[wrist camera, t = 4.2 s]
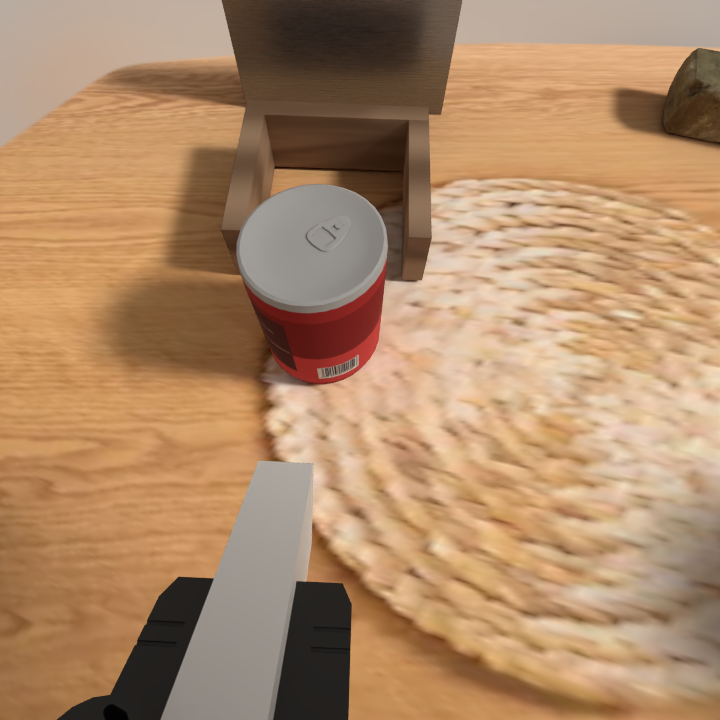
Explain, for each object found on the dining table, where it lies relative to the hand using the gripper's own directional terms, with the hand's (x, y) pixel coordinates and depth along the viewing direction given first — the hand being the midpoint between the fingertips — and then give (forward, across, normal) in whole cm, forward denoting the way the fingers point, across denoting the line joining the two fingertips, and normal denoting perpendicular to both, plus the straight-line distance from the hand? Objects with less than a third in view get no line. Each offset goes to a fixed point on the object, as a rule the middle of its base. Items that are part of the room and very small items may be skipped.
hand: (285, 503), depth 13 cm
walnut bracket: (+29, 0, +6) cm, 30 cm away
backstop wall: (+39, -1, +16) cm, 42 cm away
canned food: (+22, 0, -2) cm, 22 cm away
